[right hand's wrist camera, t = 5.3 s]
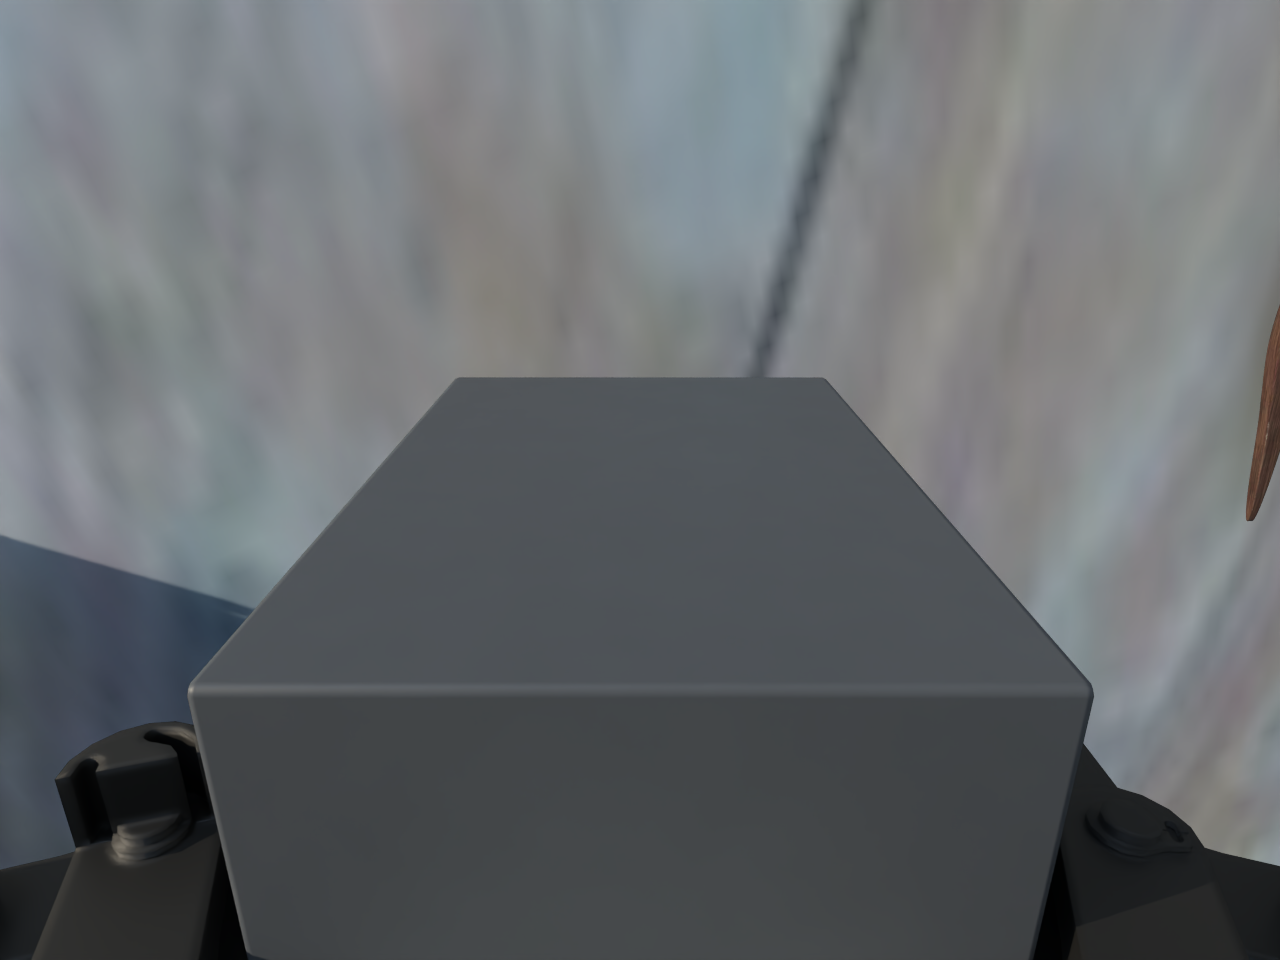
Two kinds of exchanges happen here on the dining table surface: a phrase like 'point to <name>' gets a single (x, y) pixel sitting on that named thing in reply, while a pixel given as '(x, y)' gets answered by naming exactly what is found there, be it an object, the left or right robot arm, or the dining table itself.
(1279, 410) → the fork
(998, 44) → the dining table surface
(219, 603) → the dining table surface
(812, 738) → the box
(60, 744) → the dining table surface
